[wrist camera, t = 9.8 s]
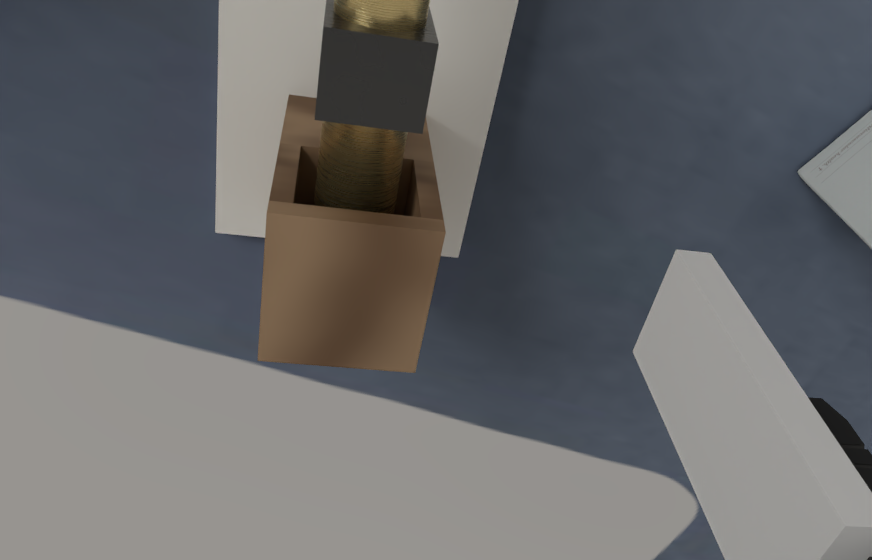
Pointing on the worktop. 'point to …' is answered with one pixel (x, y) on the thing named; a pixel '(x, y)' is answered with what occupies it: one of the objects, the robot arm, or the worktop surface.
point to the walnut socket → (347, 260)
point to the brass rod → (371, 98)
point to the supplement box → (846, 177)
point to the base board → (298, 75)
